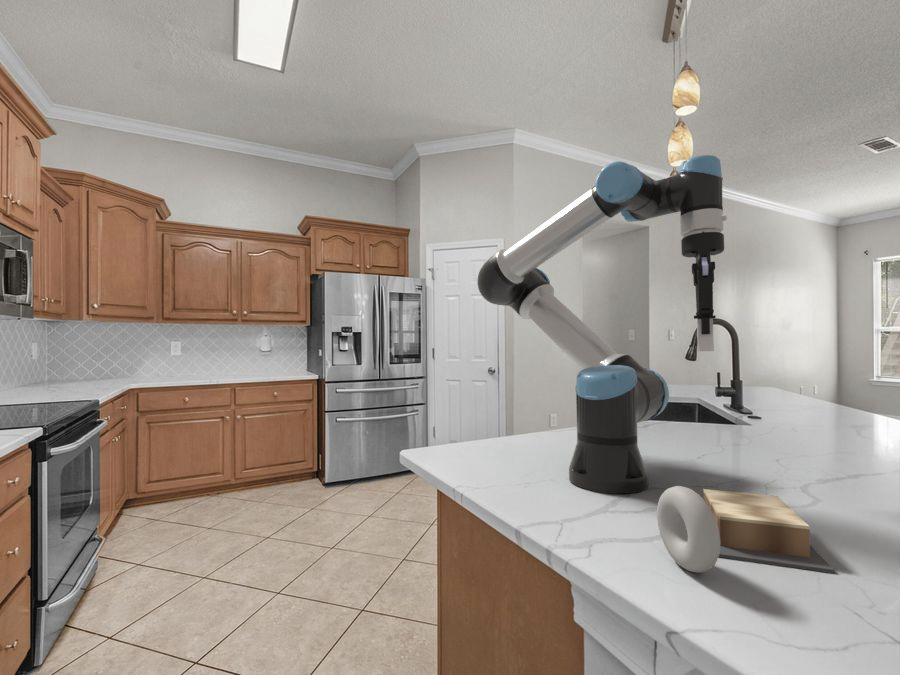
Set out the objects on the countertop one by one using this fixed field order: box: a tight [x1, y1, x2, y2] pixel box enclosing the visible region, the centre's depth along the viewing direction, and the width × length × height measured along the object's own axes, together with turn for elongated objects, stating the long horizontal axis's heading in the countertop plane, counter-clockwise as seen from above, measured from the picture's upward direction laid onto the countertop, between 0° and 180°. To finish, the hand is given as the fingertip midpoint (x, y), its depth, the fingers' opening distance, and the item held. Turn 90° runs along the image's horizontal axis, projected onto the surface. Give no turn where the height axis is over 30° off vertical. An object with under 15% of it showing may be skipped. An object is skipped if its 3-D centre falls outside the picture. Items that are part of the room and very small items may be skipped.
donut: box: [656, 485, 721, 573], centre depth 55 cm, size 10×4×10 cm, turn 5°
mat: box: [718, 544, 836, 574], centre depth 62 cm, size 13×14×1 cm
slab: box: [702, 488, 811, 558], centre depth 63 cm, size 10×4×12 cm
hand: (705, 350), depth 88 cm, fingers closed
